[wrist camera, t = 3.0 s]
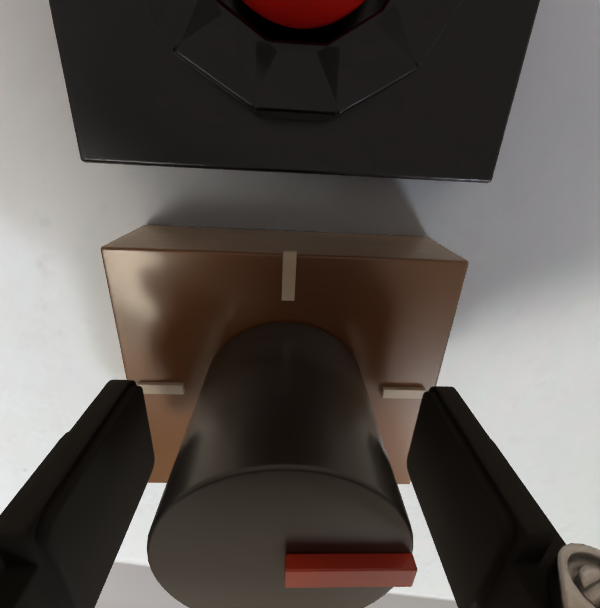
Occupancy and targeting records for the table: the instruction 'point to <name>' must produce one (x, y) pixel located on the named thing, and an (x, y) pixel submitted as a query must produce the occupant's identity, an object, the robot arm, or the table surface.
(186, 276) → the dimmer panel
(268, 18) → the power button
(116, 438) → the robot arm
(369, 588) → the dimmer knob
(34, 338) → the table surface
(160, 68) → the switch block
